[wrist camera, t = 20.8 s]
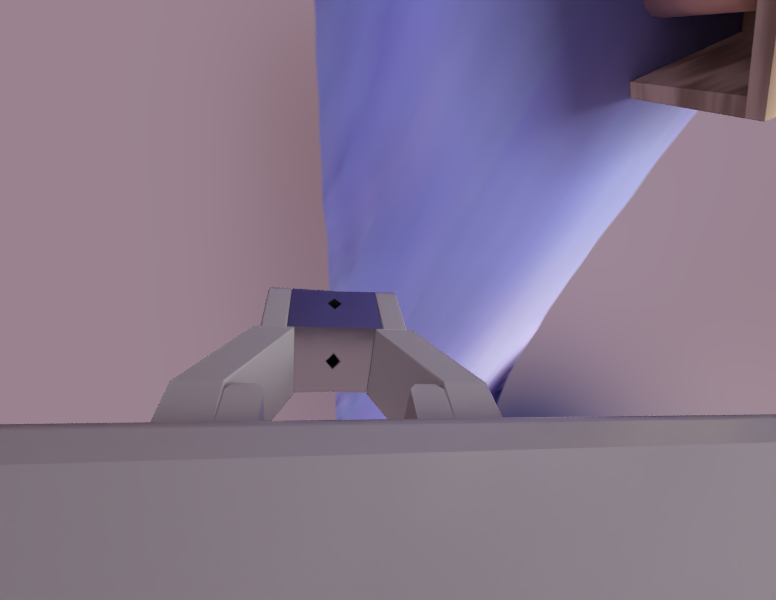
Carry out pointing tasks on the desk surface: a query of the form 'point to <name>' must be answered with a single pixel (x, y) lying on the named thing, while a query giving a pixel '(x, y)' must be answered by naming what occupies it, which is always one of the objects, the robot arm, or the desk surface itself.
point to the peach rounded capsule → (696, 7)
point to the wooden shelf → (723, 73)
